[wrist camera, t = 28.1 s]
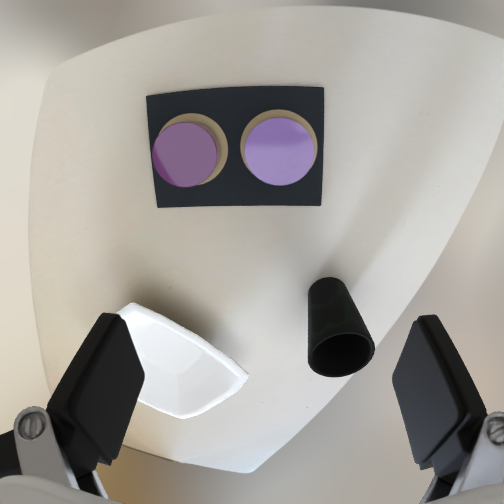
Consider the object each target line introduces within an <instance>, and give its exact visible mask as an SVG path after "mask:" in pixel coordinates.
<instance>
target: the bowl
mask: <svg viewBox="0 0 504 504" xmlns="http://www.w3.org/2000/svg"><path fill="white" fill-rule="evenodd" d="M115 314H119V315H120V316H121V318H122V319H124V320H125V321H126V324H127V327H128V329H129V332H130V335H131V338H132V341H133V344H134V346H135V349H136V352H137V354H138V357H139V359H140V362H141V365H142V367H143V370H144V373H145V380H144V383H143V386H142V389H141V391H140V394H139V397H138V399H137V400H138V401H140V402H142V403H144V404H146V405H149V406H151V407H153V408H155V409H157V410H159V411H161V412H164V413H167V414H169V415H172V416H175V417H178V418H181V419H185V418H189V417H192V416H196V415H200V414H201V413H203V412H205V411H206V410H208V409H210V408H212V407H213V406H215V405H217V404H218V403H220V402H221V401H223V400H224V399H226V398H227V397H229V396H231V395H232V394H234V393H235V392H237V391H238V390H239V389H240V387H241V386H242V385H243V384H244V382H245V381H246V380H247V379H248V377H249V374H248V373H247V372H246V371H245V370H244V369H243V368H242V367H240V366H239V365H238V364H237V363H236V362H235V361H234V360H233V359H232V358H230V357H229V356H227V355H226V354H224V353H223V352H222V351H220V350H219V349H217V348H216V347H214V346H213V345H212V344H210V343H209V342H207V341H206V340H205V339H203V338H202V337H200V336H199V335H197V334H195V333H193V332H191V331H190V330H188V329H186V328H184V327H182V326H181V325H179V324H177V323H175V322H174V321H172V320H170V319H168V318H167V317H165V316H163V315H161V314H159V313H157V312H154V311H152V310H150V309H148V308H145V307H143V306H141V305H139V304H137V303H135V302H131V303H129V304H128V305H126V306H125V307H123V308H122V309H121V310H119V311H118V312H116V313H115Z"/></svg>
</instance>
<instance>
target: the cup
mask: <svg viewBox="0 0 504 504" xmlns="http://www.w3.org/2000/svg"><path fill="white" fill-rule="evenodd" d="M374 351H375V345H374V342H373V339H372V337H371V335H370V333H369V331H368V329H367V327H366V325H365V323H364V321H363V319H362V317H361V315H360V313H359V311H358V309H357V307H356V305H355V303H354V301H353V299H352V298H351V296H350V294H349V292H348V290H347V288H346V286H345V284H344V283H343V282H342V281H341V280H339V279H337V278H333V277H327V278H322V279H320V280H318V281H316V282H315V283H314V284H313V285H312V286H311V287H310V289H309V292H308V364H309V366H310V368H311V369H312V370H313V371H314V372H316V373H318V374H319V375H323V376H326V377H343V376H347V375H350V374H353V373H355V372H357V371H359V370H361V369H362V368H363V367H364V366H366V365H367V364H368V362H369V361H370V360H371V359H372V357H373V355H374Z"/></svg>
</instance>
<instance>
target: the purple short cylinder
mask: <svg viewBox="0 0 504 504" xmlns="http://www.w3.org/2000/svg"><path fill="white" fill-rule="evenodd" d="M220 155H221V149H220V143H219V140H218V138H217V136H216V134H215V133H214V132H213V131H212V130H211V129H210V128H209V127H208V126H207V125H205V124H203V123H201V122H198V121H192V120H188V121H182V122H178V123H175V124H172V125H170V126H168V127H166V128H165V129H164V130H163V131H162V132H161V133H160V134H159V135H158V137H157V138H156V140H155V143H154V146H153V152H152V157H153V163H154V166H155V168H156V170H157V172H158V173H159V175H160V176H161V177H162V178H163V179H164V180H165V181H167V182H168V183H170V184H172V185H175V186H178V187H192V186H196V185H199V184H200V183H202V182H204V181H205V180H206V179H207V178H208V177H209V176H210V175H211V174H212V173H213V171H214V170H215V168H216V167H217V165H218V163H219V160H220Z"/></svg>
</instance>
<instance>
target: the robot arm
mask: <svg viewBox="0 0 504 504" xmlns="http://www.w3.org/2000/svg"><path fill="white" fill-rule="evenodd" d="M144 380H145V373H144V370H143V367H142V365H141V362H140V359H139V357H138V354H137V352H136V349H135V346H134V344H133V341H132V338H131V335H130V332H129V329H128V327H127V324H126V321H125V320H124V319H122V318H121V316H120V315H119V314H113V313H102V314H101V315H100V316H99V318H98V319H97V321H96V323H95V324H94V326H93V327H92V329H91V330H90V332H89V334H88V335H87V337H86V338H85V340H84V342H83V343H82V345H81V347H80V348H79V350H78V351H77V353H76V355H75V356H74V358H73V360H72V362H71V363H70V365H69V367H68V368H67V370H66V372H65V374H64V375H63V377H62V379H61V381H60V382H59V384H58V386H57V388H56V389H55V391H54V393H53V395H52V397H51V399H50V400H49V402H48V405H47V408H46V410H44V409H43V408H41V407H36V406H32V407H28V408H26V409H24V410H22V411H21V412H20V413H19V414H18V416H17V417H16V419H15V422H14V430H11V431H9V432H7V433H4V434H1V435H0V504H123V503H119V502H115V501H112V500H109V498H108V496H107V494H106V492H105V490H104V488H103V485H102V483H101V481H100V479H99V476H98V474H97V472H96V470H95V468H96V466H97V463H98V462H99V463H103V464H106V465H111V463H112V460H113V459H116V458H117V456H118V454H119V451H120V448H121V445H122V442H123V439H124V436H125V433H126V430H127V428H128V425H129V422H130V419H131V416H132V413H133V411H134V408H135V405H136V402H137V399H138V397H139V394H140V391H141V389H142V386H143V383H144ZM392 382H393V386H394V390H395V392H396V396H397V399H398V403H399V406H400V409H401V413H402V416H403V420H404V423H405V427H406V431H407V434H408V438H409V442H410V446H411V450H412V453H413V458H414V461H415V463H416V464H419V466H420V470H424V469H428V468H431V467H433V468H434V472H435V476H434V478H433V480H432V481H431V484H430V485H429V487H428V489H427V491H426V493H425V495H424V496H423V498H422V500H421V502H420V503H419V504H504V412H500V411H499V412H493V413H491V414H489V415H488V414H487V412H486V408H485V405H484V403H483V401H482V399H481V397H480V395H479V392H478V390H477V388H476V386H475V384H474V382H473V380H472V378H471V376H470V374H469V372H468V370H467V368H466V366H465V365H464V362H463V361H462V359H461V357H460V355H459V353H458V351H457V349H456V348H455V346H454V344H453V342H452V340H451V339H450V337H449V335H448V333H447V331H446V330H445V328H444V327H443V325H442V323H441V321H440V320H439V318H438V316H437V315H422V316H419V317H418V319H417V320H416V321H414V322H413V324H412V327H411V330H410V333H409V335H408V338H407V340H406V343H405V346H404V348H403V351H402V353H401V356H400V358H399V361H398V363H397V366H396V368H395V370H394V372H393V376H392Z"/></svg>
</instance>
